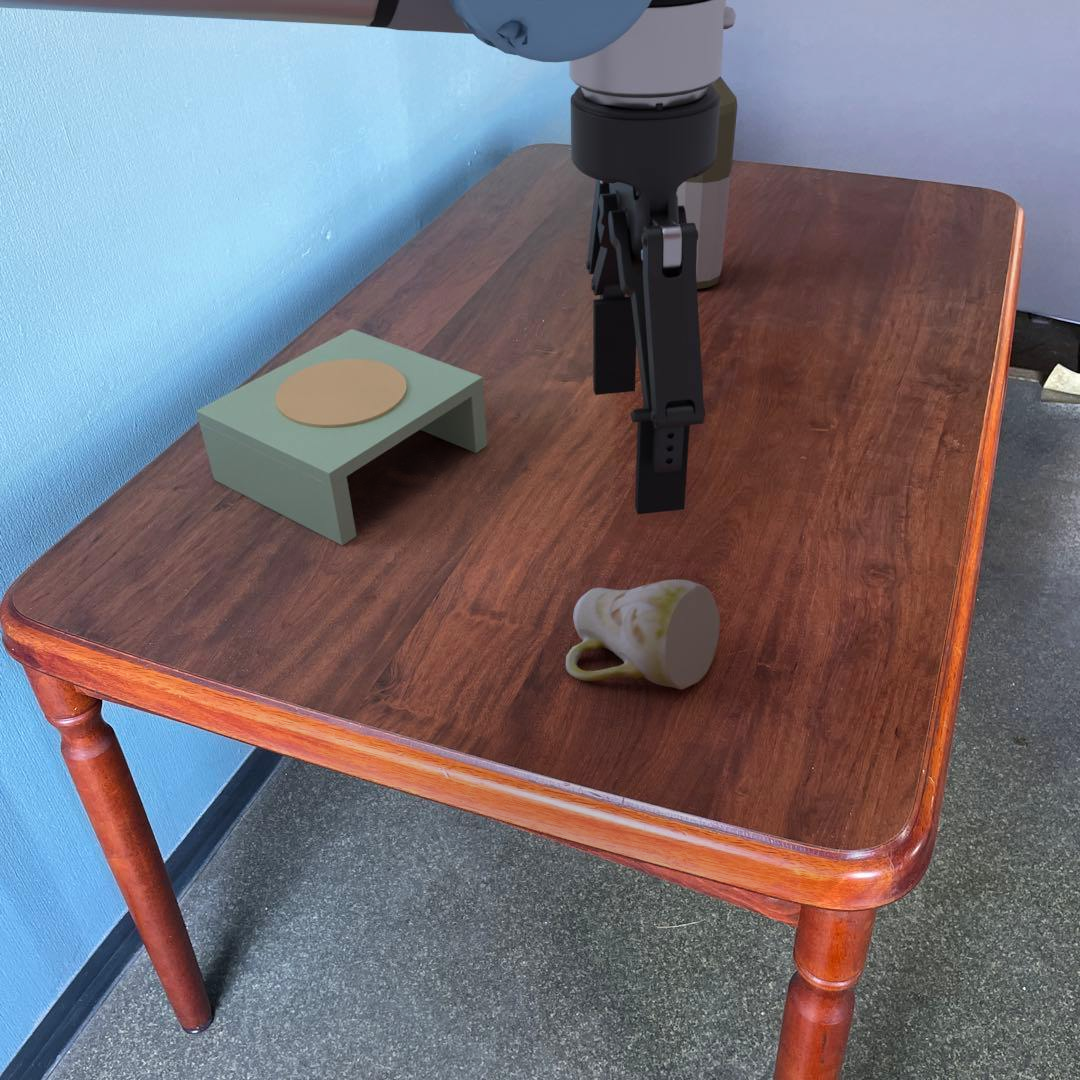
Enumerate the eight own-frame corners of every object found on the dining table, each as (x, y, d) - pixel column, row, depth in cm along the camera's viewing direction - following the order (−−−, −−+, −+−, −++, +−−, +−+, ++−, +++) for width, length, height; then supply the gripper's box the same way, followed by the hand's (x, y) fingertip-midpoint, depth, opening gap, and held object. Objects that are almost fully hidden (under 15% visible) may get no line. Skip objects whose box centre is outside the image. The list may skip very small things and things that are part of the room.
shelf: (214, 479, 93) (195, 407, 89) (361, 394, 104) (351, 325, 100) (342, 546, 85) (328, 469, 81) (487, 445, 96) (482, 373, 92)
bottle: (727, 293, 120) (751, -3, 101) (664, 295, 120) (676, -1, 101) (720, 267, 125) (741, -18, 107) (659, 269, 125) (670, -16, 107)
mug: (595, 601, 80) (668, 516, 73) (681, 703, 77) (765, 624, 71) (531, 635, 74) (604, 546, 68) (621, 746, 72) (705, 665, 65)
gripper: (799, 161, 44) (752, 562, 57) (662, 24, 64) (650, 346, 77) (620, 175, 43) (613, 578, 56) (537, 32, 63) (546, 355, 76)
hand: (634, 445), depth 67 cm, fingers open, 13 cm apart
